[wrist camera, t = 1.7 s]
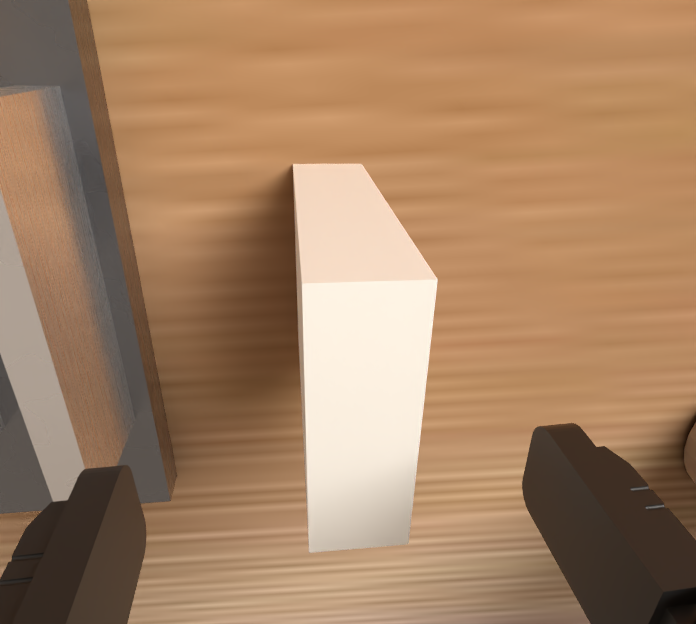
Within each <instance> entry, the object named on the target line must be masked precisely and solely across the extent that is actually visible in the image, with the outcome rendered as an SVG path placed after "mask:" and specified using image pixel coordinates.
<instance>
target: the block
mask: <svg viewBox="0 0 696 624" xmlns="http://www.w3.org/2000/svg"><path fill="white" fill-rule="evenodd" d="M293 184H294V216H295V247H296V279H297V311H298V341H299V361H300V381H301V402H302V422H303V442H304V462H305V483H306V503H307V523H308V543H309V553H313V552H325V551H336V550H348V549H359V548H371V547H382V546H394V545H405V544H408V543H409V534H410V525H411V515H412V506H413V497H414V488H415V479H416V470H417V461H418V452H419V443H420V434H421V425H422V416H423V407H424V398H425V389H426V380H427V371H428V362H429V353H430V344H431V335H432V326H433V317H434V308H435V298H436V289H437V280H438V279H437V278H436V276H435V275H434V273H433V272H432V270H431V269H430V267H429V266H428V264H427V263H426V261H425V260H424V258H423V257H422V255H421V254H420V252H419V251H418V249H417V247H416V246H415V244H414V243H413V241H412V240H411V238H410V237H409V235H408V234H407V232H406V231H405V229H404V228H403V226H402V225H401V223H400V222H399V220H398V219H397V217H396V216H395V214H394V213H393V211H392V209H391V208H390V206H389V205H388V203H387V202H386V200H385V199H384V197H383V196H382V194H381V193H380V191H379V190H378V188H377V187H376V185H375V184H374V182H373V181H372V179H371V178H370V176H369V175H368V173H367V171H366V170H365V168H364V167H363V165H362V164H293Z"/></svg>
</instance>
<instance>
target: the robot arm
mask: <svg viewBox="0 0 696 624" xmlns="http://www.w3.org/2000/svg"><path fill="white" fill-rule="evenodd" d="M684 464H685V467H686V471H687V473H688V475H689V476H690V477H691V479H692V480H693V481H694V482H695V483H696V422H695V424H694V426H693V428H692V430H691V431H690V433H689V435H688V439H687V442H686V445H685V448H684ZM522 489H523V496H524V500H525V504H526V507H527V509H528V511H529V513H530V515H531V517H532V519H533V520H534V522H535V524H536V526H537V528H538V529H539V531H540V533H541V535H542V537H543V538H544V540H545V542H546V544H547V546H548V547H549V549H550V551H551V553H552V555H553V556H554V558H555V560H556V562H557V564H558V565H559V567H560V569H561V571H562V573H563V574H564V576H565V578H566V580H567V582H568V583H569V585H570V587H571V589H572V591H573V592H574V594H575V596H576V598H577V600H578V601H579V603H580V605H581V607H582V609H583V610H584V612H585V614H586V616H587V618H588V619H589V621H590V623H591V624H696V540H695V539H694V538H693V537H692V535H691V534H690V533H689V532H688V531H687V530H686V528H685V527H684V526H683V525H682V524H681V523H680V522H679V520H678V519H677V518H676V517H675V516H674V515H673V513H672V512H671V511H670V510H669V509H666V508H665V507H664V503H663V502H662V501H661V499H660V498H659V497H658V496H657V495H656V494H655V492H654V491H653V490H649V487H648V484H647V483H646V482H645V481H644V480H643V479H642V477H641V476H640V475H639V474H638V473H637V472H636V470H635V469H634V468H633V467H632V466H631V465H630V464H629V463H628V462H626V461H625V460H624V459H622V458H621V457H619V456H618V455H616V454H615V453H613V452H612V451H610V450H609V449H608V448H606V447H605V446H603V447H596V446H595V445H594V443H593V442H592V441H591V440H590V439H589V437H588V436H587V435H586V434H585V432H584V431H583V430H582V429H581V428H580V427H579V426H578V425H576V424H574V423H569V424H559V425H548V426H539V427H536V428H535V430H534V432H533V435H532V439H531V444H530V448H529V453H528V457H527V462H526V467H525V471H524V476H523V481H522ZM145 547H146V524H145V518H144V515H143V511H142V507H141V504H140V500H139V496H138V493H137V489H136V486H135V482H134V478H133V475H132V471H131V469H130V467H129V466H128V465H120V466H110V467H99V468H89V469H84V470H83V471H82V472H81V473H80V474H79V476H78V478H77V481H76V483H75V485H74V487H73V490H72V492H71V494H70V496H69V498H68V500H65V501H55V502H51V503H50V504H49V505H48V506H47V507H46V508H45V509H44V510H43V511H42V512H41V513H40V514H39V515H38V516H37V517H36V518H35V519H34V520H33V521H32V522H31V523H30V524H29V525H28V526H27V527H26V529H25V531H24V533H23V535H22V537H21V539H20V541H19V543H18V545H17V547H16V549H15V551H14V553H13V555H12V561H11V562H9V563H8V565H7V567H6V569H5V571H4V573H3V575H2V577H1V579H0V624H127V622H128V618H129V614H130V610H131V606H132V602H133V598H134V594H135V590H136V586H137V582H138V578H139V574H140V570H141V566H142V562H143V558H144V553H145Z"/></svg>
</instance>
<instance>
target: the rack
mask: <svg viewBox="0 0 696 624" xmlns="http://www.w3.org/2000/svg"><path fill="white" fill-rule="evenodd" d="M120 465H128V466H129V467H130V469H131V471H132V475H133V478H134V482H135V486H136V489H137V493H138V496H139V500H140V503H151V502H165V501H171V497H172V493H173V489H174V485H175V481H176V477H177V473H176V468H175V463H174V457H173V452H172V447H171V441H170V436H169V431H168V426H167V420H166V415H165V410H164V405H163V399H162V394H161V389H160V383H159V378H158V373H157V368H156V362H155V357H154V352H153V347H152V341H151V336H150V331H149V325H148V320H147V315H146V310H145V304H144V299H143V294H142V289H141V283H140V278H139V273H138V267H137V262H136V257H135V252H134V246H133V241H132V236H131V231H130V225H129V220H128V215H127V209H126V204H125V199H124V194H123V188H122V183H121V178H120V173H119V167H118V162H117V157H116V152H115V146H114V141H113V136H112V130H111V125H110V120H109V115H108V109H107V104H106V99H105V94H104V88H103V83H102V78H101V72H100V67H99V62H98V57H97V51H96V46H95V41H94V36H93V30H92V25H91V20H90V14H89V9H88V4H87V0H0V514H1V513H15V512H28V511H42V510H44V509H45V508H46V507H47V506H48V505H49V504H50V503H51V502H55V501H65V500H68V498H69V496H70V494H71V492H72V490H73V487H74V485H75V483H76V481H77V478H78V476H79V474H80V473H81V472H82V471H83V470H84V469H89V468H99V467H110V466H120Z"/></svg>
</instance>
